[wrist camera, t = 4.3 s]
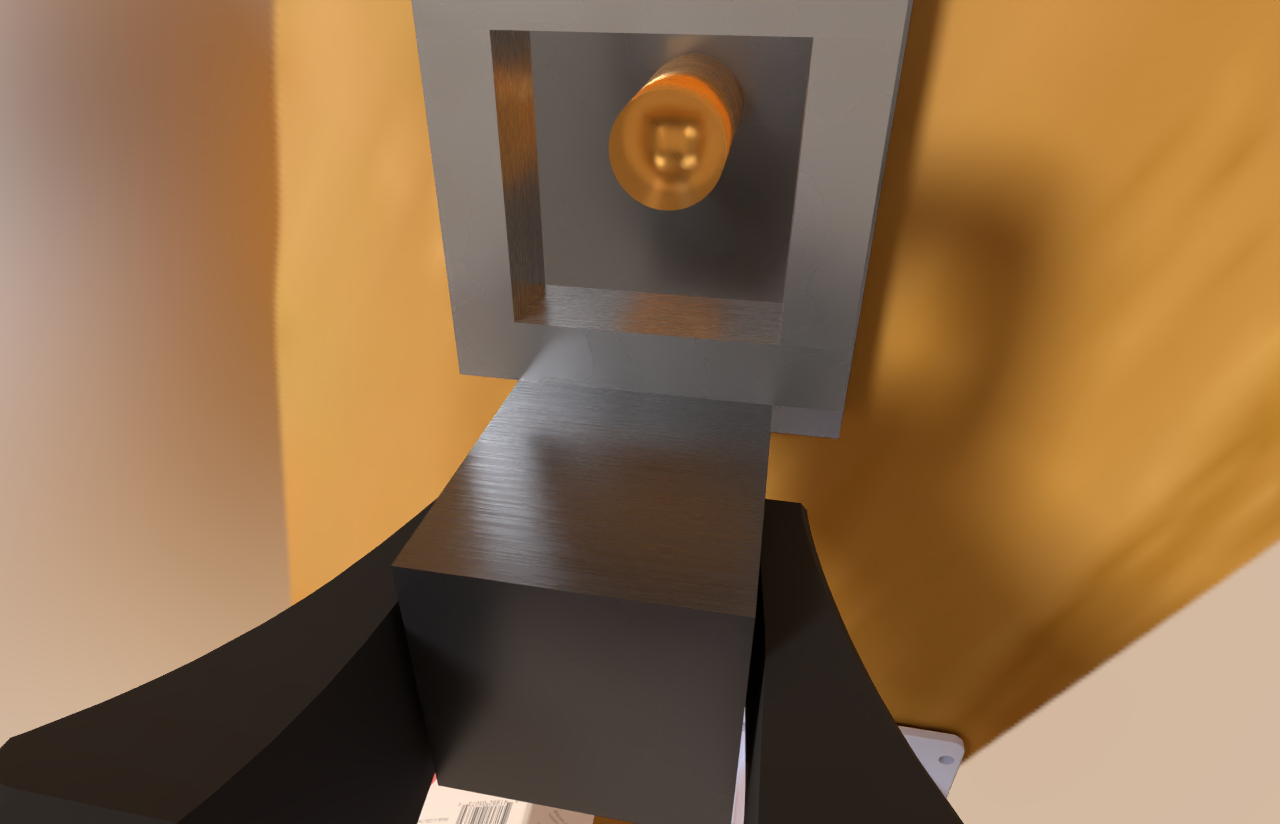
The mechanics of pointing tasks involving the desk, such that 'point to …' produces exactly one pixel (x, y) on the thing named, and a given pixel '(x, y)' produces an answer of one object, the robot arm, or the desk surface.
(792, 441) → the desk surface
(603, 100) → the frame
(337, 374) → the desk surface
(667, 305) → the link
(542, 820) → the ink cartridge box
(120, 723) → the robot arm
